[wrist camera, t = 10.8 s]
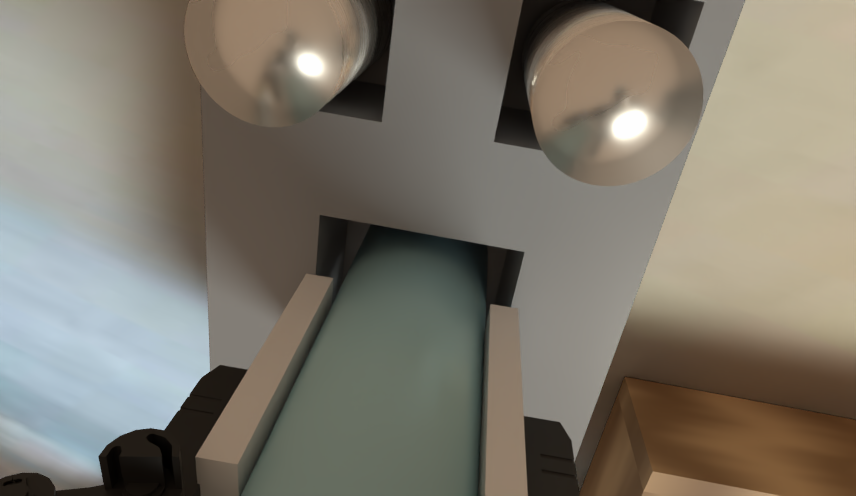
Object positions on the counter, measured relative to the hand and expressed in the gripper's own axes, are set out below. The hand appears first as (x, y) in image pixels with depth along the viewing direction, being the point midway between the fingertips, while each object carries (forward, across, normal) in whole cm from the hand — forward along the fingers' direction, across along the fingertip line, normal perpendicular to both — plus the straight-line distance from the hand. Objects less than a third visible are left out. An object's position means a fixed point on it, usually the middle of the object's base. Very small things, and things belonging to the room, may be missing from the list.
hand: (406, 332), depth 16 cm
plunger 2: (+4, -3, -7) cm, 9 cm away
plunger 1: (+4, +3, -8) cm, 9 cm away
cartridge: (+5, 0, 0) cm, 5 cm away
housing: (+7, 0, -2) cm, 7 cm away
